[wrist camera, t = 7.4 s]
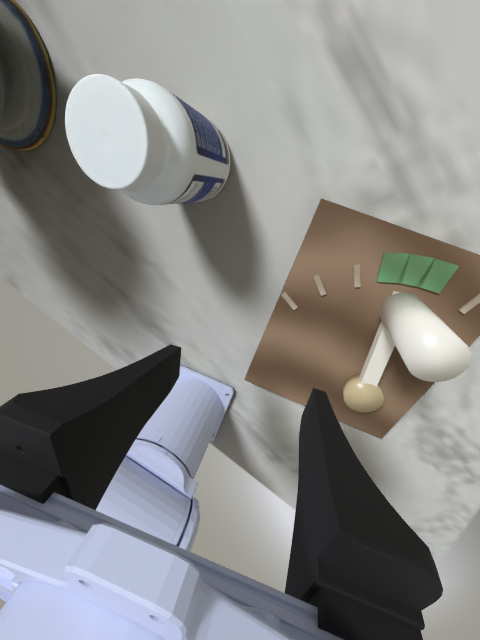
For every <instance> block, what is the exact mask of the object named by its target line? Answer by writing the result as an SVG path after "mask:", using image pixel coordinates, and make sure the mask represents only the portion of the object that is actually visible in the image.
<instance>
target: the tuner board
mask: <svg viewBox="0 0 480 640" xmlns="http://www.w3.org/2000/svg"><path fill="white" fill-rule="evenodd" d="M393 291H395V292H408V293H412V294H414V295H416V296H417V297H418V298H419V299H420V300H421V301H422V302H423V303H424V304H425V305H426V306H427V307H429V308H430V309H431V310H432V311H433V312H434V313H435V314H436V315H437V316H438V317H439V318H440V319H441V320H442V321H443V322H444V323H445V324H446V325H447V326H448V327H449V328H450V329H451V330H452V331H453V332H454V333H455V334H456V335H457V336H458V337H459V338H460V339H461V340H462V341H463V342H464V343H465V344H466V345H467V346H468V347H469V346H470V345H471V344H472V343H473V342H474V341H475V339H476V338H477V337H478V336H479V335H480V255H478V254H475V253H472V252H470V251H467V250H464V249H461V248H458V247H456V246H453V245H450V244H447V243H444V242H442V241H439V240H436V239H433V238H430V237H428V236H425V235H422V234H419V233H416V232H414V231H411V230H408V229H405V228H402V227H400V226H397V225H394V224H391V223H388V222H386V221H383V220H380V219H377V218H374V217H372V216H369V215H366V214H363V213H360V212H358V211H355V210H352V209H349V208H346V207H344V206H341V205H338V204H335V203H332V202H330V201H327V200H324V199H321V200H320V203H319V205H318V207H317V210H316V212H315V214H314V217H313V219H312V222H311V224H310V226H309V229H308V231H307V233H306V236H305V238H304V240H303V243H302V245H301V247H300V250H299V252H298V254H297V257H296V259H295V261H294V264H293V266H292V269H291V271H290V273H289V276H288V278H287V280H286V283H285V285H284V287H283V290H282V292H281V294H280V297H279V299H278V301H277V304H276V306H275V308H274V311H273V313H272V315H271V318H270V320H269V323H268V325H267V327H266V330H265V332H264V334H263V337H262V339H261V341H260V344H259V346H258V348H257V351H256V353H255V355H254V358H253V360H252V362H251V365H250V367H249V370H248V372H247V374H246V377H245V380H246V381H248V382H251V383H253V384H255V385H258V386H260V387H262V388H265V389H267V390H269V391H272V392H274V393H276V394H279V395H281V396H283V397H286V398H288V399H290V400H293V401H295V402H297V403H299V404H302V405H304V406H306V404H307V402H308V399H309V397H310V395H311V392H312V390H313V388H315V389H318V390H322V391H325V392H326V393H327V396H328V398H329V401H330V404H331V406H332V408H333V411H334V413H335V416H336V418H337V420H339V421H341V422H344V423H346V424H348V425H351V426H353V427H355V428H358V429H360V430H362V431H365V432H367V433H369V434H372V435H374V436H376V437H379V438H381V439H382V438H383V437H384V435H385V434H386V433H387V432H388V431H389V430H390V429H391V428H392V427H393V426H394V425H395V424H396V423H397V422H398V421H399V420H400V419H401V418H402V416H403V415H404V414H405V413H406V412H407V411H408V410H409V409H410V408H411V407H412V406H413V405H414V404H415V403H416V402H417V401H418V400H419V399H420V397H421V396H422V395H423V394H424V393H425V392H426V391H427V390H428V389H429V388H430V387H431V386H432V385H433V384H434V383H435V382H429V381H424V380H421V379H418V378H417V377H415V376H414V375H412V374H411V373H410V371H409V370H408V368H407V366H406V365H405V363H404V361H403V359H402V357H401V355H400V353H399V352H398V350H397V348H396V346H395V347H394V349H393V351H392V353H391V356H390V358H389V360H388V362H387V365H386V367H385V369H384V371H383V374H382V376H381V378H380V380H379V384H380V387H381V390H382V393H383V396H384V402H383V404H382V405H381V407H380V408H378V409H377V410H375V411H372V412H357V411H355V410H352V409H351V408H349V407H348V406H347V405H346V403H345V401H344V396H343V389H342V388H343V384H344V382H345V381H346V380H347V379H348V378H350V377H352V376H354V375H360V374H361V371H362V369H363V366H364V364H365V361H366V359H367V356H368V354H369V351H370V348H371V346H372V343H373V341H374V338H375V336H376V333H377V331H378V328H379V326H380V323H381V321H382V320H381V318H380V316H379V308H380V306H381V304H382V302H383V301H384V300H385V299H386V298H387V297H389V296H391V295H392V293H393Z"/></svg>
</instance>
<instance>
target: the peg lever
mask: <svg viewBox="0 0 480 640" xmlns="http://www.w3.org/2000/svg"><path fill="white" fill-rule="evenodd" d="M379 316H380V318H381V320H382V321H381V323H380V326H379V328H378V331H377V333H376V336H375V338H374V341H373V343H372V346H371V348H370V351H369V354H368V356H367V359H366V361H365V364H364V366H363V369H362V371H361V374H360V375H354V376H352V377H350V378H348V379H347V380H346V381H345V382H344V384H343V388H342V389H343V396H344V401H345V403H346V405H347V406H348V407H349V408H351V409H352V410H355V411H357V412H372V411H375V410H377V409H378V408H380V407H381V405H382V404H383V402H384V396H383V393H382V390H381V387H380V384H379V380H380V378H381V376H382V374H383V371H384V369H385V367H386V365H387V362H388V360H389V358H390V356H391V353H392V351H393V349H394V347H395V346H396V348H397V350H398V352H399V353H400V355H401V357H402V359H403V361H404V363H405V365H406V366H407V368H408V370H409V371H410V373H411V374H412V375H414V376H415V377H417V378H418V379H421V380H424V381H429V382H440V381H446V380H450V379H452V378H454V377H456V376H458V375H460V374H461V373H462V372H464V371H465V370H466V368H467V367H468V365H469V364H470V361H471V352H470V349H469V347H468V346H467V345H466V344H465V343H464V342H463V341H462V340H461V339H460V338H459V337H458V336H457V335H456V334H455V333H454V332H453V331H452V330H451V329H450V328H449V327H448V326H447V325H446V324H445V323H444V322H443V321H442V320H441V319H440V318H439V317H438V316H437V315H436V314H435V313H434V312H433V311H432V310H431V309H430V308H429V307H427V306H426V305H425V304H424V303H423V302H422V301H421V300H420V299H419V298H418V297H417V296H416V295H414V294H412V293H408V292H395V291H393V293H392V295H391V296H389V297H387V298H386V299H385V300H384V301H383V302H382V304H381V306H380V308H379Z"/></svg>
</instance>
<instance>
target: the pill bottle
mask: <svg viewBox="0 0 480 640" xmlns="http://www.w3.org/2000/svg"><path fill="white" fill-rule="evenodd" d="M65 128H66V134H67V139H68V142H69V146H70V148H71V151H72V153H73V155H74V157H75V159H76V161H77V163H78V164H79V166H80V167H81V169H82V170H83V171H84V172H85V174H86V175H87V176H88V177H89V178H90V179H92V180H93V181H94V182H96V183H97V184H99V185H100V186H103V187H105V188H108V189H112V190H121V191H122V192H123V193H124V194H125V195H127V196H128V197H130V198H131V199H133V200H135V201H138V202H140V203H144V204H149V205H165V204H179V203H193V202H202V201H206V200H209V199H211V198H213V197H214V196H216V195H217V194H218V193H219V192H220V191H221V190H222V188H223V187H224V185H225V184H226V181H227V178H228V175H229V170H230V151H229V147H228V144H227V141H226V139H225V137H224V135H223V133H222V132H221V131H220V129H219V128H218V127H217V126H216V125H215V124H214V123H213V122H212V121H210V120H209V119H208V118H206V117H205V116H203V115H202V114H200V113H199V112H197V111H196V110H195V109H193V108H192V107H190V106H189V105H188V104H186V103H185V102H183V101H182V100H181V99H179V98H178V97H176V96H175V95H174V94H172V93H171V92H170V91H168V90H167V89H165V88H163V87H162V86H160V85H158V84H156V83H154V82H152V81H149V80H145V79H129V80H125V81H122V82H120V81H118V80H117V79H115V78H113V77H110V76H107V75H102V74H93V75H89V76H86V77H84V78H83V79H81V80H80V81H78V83H77V84H76V85H75V87H73V89H72V91H71V93H70V94H69V98H68V100H67V104H66V111H65Z"/></svg>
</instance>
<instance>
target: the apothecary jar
mask: <svg viewBox="0 0 480 640" xmlns="http://www.w3.org/2000/svg"><path fill="white" fill-rule="evenodd" d="M55 110H56V90H55V82H54V77H53V73H52V69H51V65H50V61H49V58H48V55H47V52H46V49H45V47H44V45H43V42H42V40H41V38H40V36H39V34H38V32H37V30H36V29H35V27H34V25H33V24H32V22H31V20H30V19H29V17H28V16H27V15H26V13H25V12H24V11H23V9H22V8H21V7H20V6H19V4H18V3H17V2H16V1H15V0H0V144H1V145H2V146H4V147H6V148H9V149H13V150H18V151H27V150H32V149H35V148H37V147H38V146H40V145H41V144H42V143H43V142H44V141H45V140H46V139H47V137H48V135H49V133H50V131H51V129H52V126H53V122H54V118H55Z"/></svg>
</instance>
